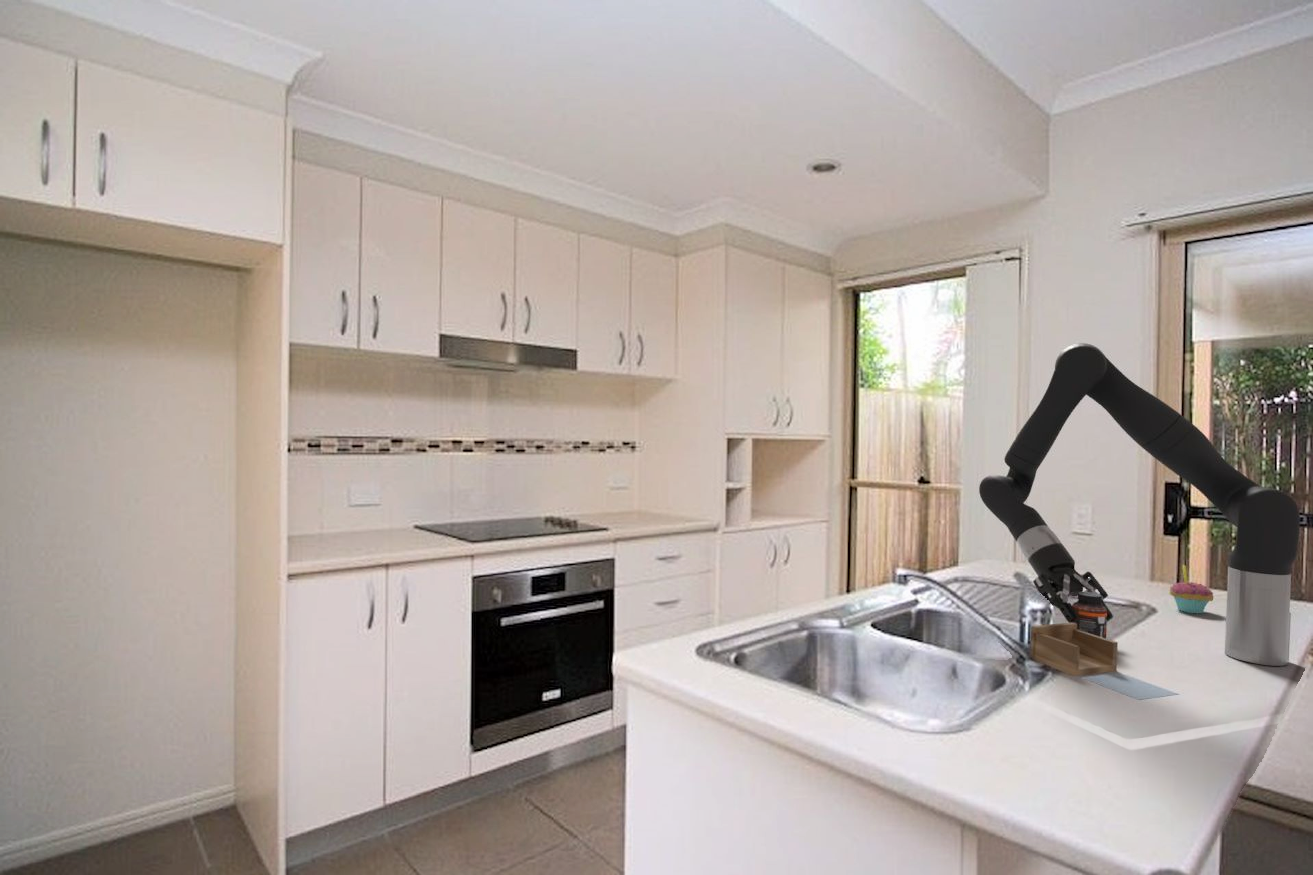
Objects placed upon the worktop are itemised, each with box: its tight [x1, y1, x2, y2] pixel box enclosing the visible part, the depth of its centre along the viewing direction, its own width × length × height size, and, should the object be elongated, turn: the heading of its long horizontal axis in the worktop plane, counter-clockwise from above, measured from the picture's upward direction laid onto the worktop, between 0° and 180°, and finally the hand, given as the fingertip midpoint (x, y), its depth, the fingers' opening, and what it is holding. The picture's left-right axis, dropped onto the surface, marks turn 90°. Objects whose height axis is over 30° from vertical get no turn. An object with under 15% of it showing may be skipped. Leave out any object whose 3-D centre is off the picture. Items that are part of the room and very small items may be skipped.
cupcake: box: [1169, 561, 1214, 615], centre depth 170 cm, size 9×8×12 cm
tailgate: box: [1080, 672, 1178, 701], centre depth 115 cm, size 9×1×10 cm
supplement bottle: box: [1071, 591, 1108, 639], centre depth 136 cm, size 6×6×11 cm
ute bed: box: [1030, 622, 1119, 677], centre depth 125 cm, size 10×9×7 cm
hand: (1092, 621), depth 135 cm, fingers open, 8 cm apart
